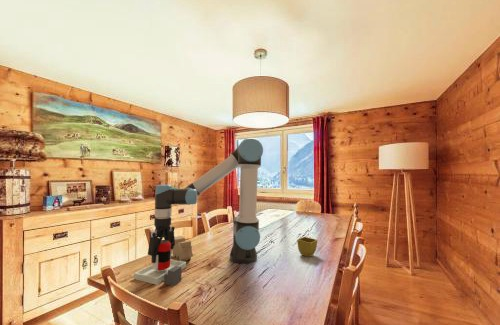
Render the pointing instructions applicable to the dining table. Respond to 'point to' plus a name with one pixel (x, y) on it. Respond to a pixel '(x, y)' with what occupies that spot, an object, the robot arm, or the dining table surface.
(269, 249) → the dining table surface
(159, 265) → the soda can
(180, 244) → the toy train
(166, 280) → the dark grey block
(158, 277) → the tray
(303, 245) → the flower pot
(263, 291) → the dining table surface
